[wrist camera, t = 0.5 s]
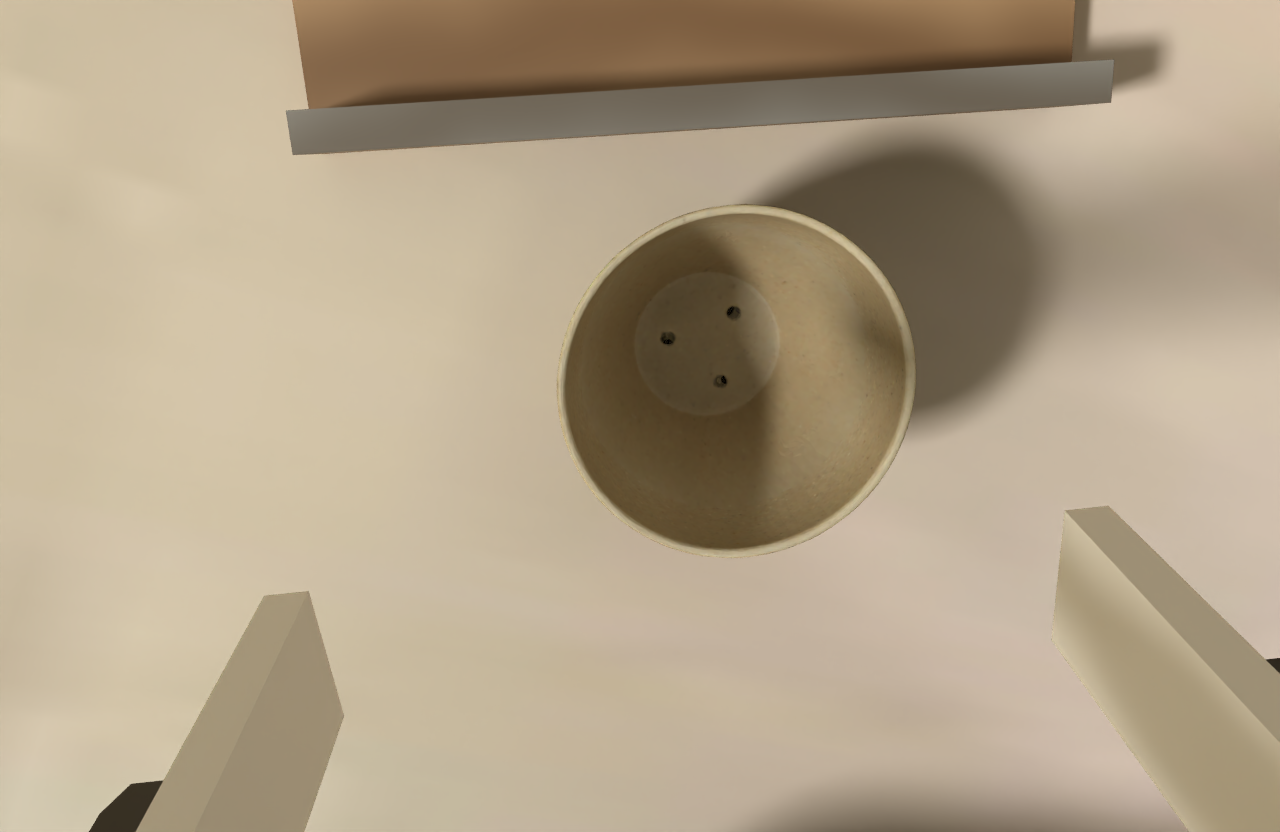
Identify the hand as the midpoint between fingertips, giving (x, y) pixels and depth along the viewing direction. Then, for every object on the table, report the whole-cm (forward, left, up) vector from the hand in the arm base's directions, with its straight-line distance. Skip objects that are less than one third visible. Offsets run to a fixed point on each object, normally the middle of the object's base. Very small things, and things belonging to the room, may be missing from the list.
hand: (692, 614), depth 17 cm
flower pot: (+1, -3, -17) cm, 18 cm away
